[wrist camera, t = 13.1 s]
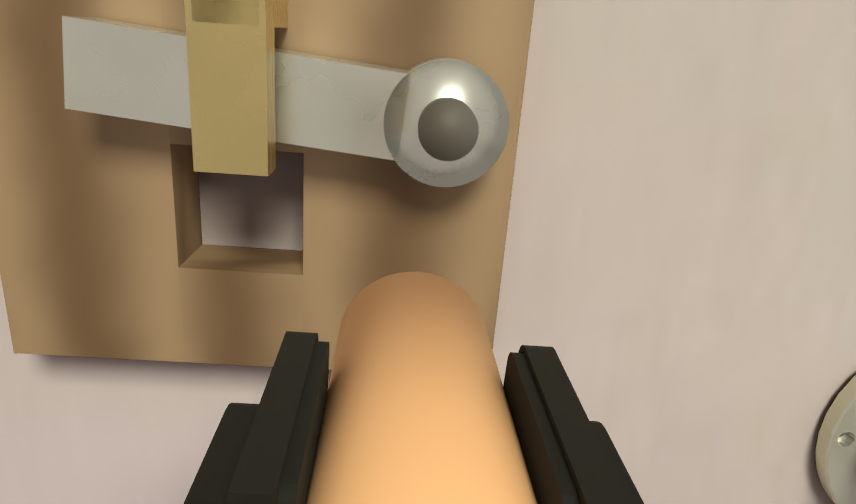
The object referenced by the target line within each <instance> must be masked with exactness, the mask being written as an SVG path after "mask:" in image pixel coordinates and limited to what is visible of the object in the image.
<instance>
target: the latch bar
mask: <svg viewBox="0 0 856 504" xmlns="http://www.w3.org/2000/svg"><path fill="white" fill-rule="evenodd" d="M62 36H63V67H64V99H65V109H71V110H78V111H84V112H90V113H97V114H103V115H109V116H116V117H122V118H128V119H135V120H141V121H147V122H154V123H160V124H166V125H173V126H179V127H185V128H191V114H190V96H189V78H188V60H187V42H186V33H185V32H179V31H173V30H167V29H161V28H155V27H150V26H144V25H138V24H132V23H126V22H120V21H114V20H108V19H102V18H93V17H75V16H62ZM442 97H452V98H456V99H459V100H461V101H462V102H464V103H465V104H467V106H468V107H469V108H470V109H471V110H472V112H473V113H474V115H475V117H476V119H477V122H478V127H479V134H478V139H477V142H476V144H475V146H474V147H473V149H472V150H471V151H470V152H469V153H468V154H467V155H466V156H464V157H463V158H461V159H458V160H455V161H441V160H438V159H435V158H433V157H432V156H430V155H429V154H428V153H427V152H426V151H425V150H424V149H423V147H422V145H421V143H420V141H419V137H418V121H419V117H420V115H421V113H422V111H423V109H424V108H425V107H426V106H427V105H428V104H429V103H430V102H432V101H434V100H436V99H438V98H442ZM275 128H276V142H280V143H286V144H293V145H299V146H305V147H312V148H318V149H324V150H331V151H337V152H343V153H350V154H356V155H362V156H369V157H375V158H381V159H388V160H394V161H395V162H396V163H397V164H398V165H399V167H400V168H401V169H402V170H403V171H405V172H406V173H407V174H408V175H409V176H411V177H412V178H414V179H416V180H418V181H420V182H422V183H425V184H427V185H431V186H436V187H455V186H461V185H464V184H467V183H470V182H472V181H474V180H476V179H478V178H479V177H481V176H482V175H484V174H485V173H486V172H487V171H488V170H489V169H490V168H491V167H492V166H493V165H494V164H495V163H496V161H497V160H498V159H499V157H500V155H501V154H502V152H503V150H504V147H505V145H506V142H507V138H508V133H509V112H508V107H507V103H506V101H505V98H504V96H503V94H502V92H501V90H500V88H499V87H498V86H497V84H496V83H495V82H494V80H493V79H492V78H491V77H490V76H489V75H487V74H486V73H485V72H483V71H482V70H481V69H479V68H477V67H475V66H474V65H472V64H470V63H468V62H465V61H463V60H459V59H455V58H448V57H441V58H433V59H429V60H426V61H423V62H421V63H419V64H417V65H415V66H413V67H412V68H410V69H409V70H404V69H399V68H393V67H387V66H381V65H375V64H369V63H363V62H357V61H351V60H345V59H339V58H333V57H327V56H321V55H316V54H310V53H304V52H298V51H292V50H286V49H280V48H275Z"/></svg>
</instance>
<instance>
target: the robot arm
mask: <svg viewBox="0 0 856 504" xmlns="http://www.w3.org/2000/svg"><path fill="white" fill-rule="evenodd" d="M329 348H330V345H329V342H324V341H319V339H318V333H310V332H293V331H286V333H285V335H284V338H283V341H282V343H281V346H280V349H279V352H278V354H277V357H276V360H275V363H274V365H273V368H272V371H271V374H270V376H269V379H268V382H267V385H266V387H265V390H264V393H263V396H262V398H261V401H260V404H245V403H230V404H229V405H228V407H227V408H226V410H225V412H224V415H223V417H222V419H221V421H220V423H219V426H218V428H217V430H216V432H215V435H214V437H213V439H212V441H211V444H210V446H209V448H208V450H207V453H206V455H205V457H204V459H203V462H202V464H201V466H200V468H199V470H198V473H197V475H196V477H195V479H194V482H193V484H192V486H191V488H190V491H189V493H188V495H187V497H186V500H185V502H184V504H307V498H308V493H309V488H310V483H311V477H312V472H313V467H314V462H315V456H316V451H317V446H318V441H319V435H320V430H321V425H322V420H323V414H324V409H325V404H326V398H327V393H328V373H329ZM503 388H504V392H505V395H506V398H507V402H508V405H509V409H510V412H511V416H512V419H513V422H514V426H515V429H516V433H517V436H518V440H519V443H520V446H521V450H522V453H523V457H524V460H525V463H526V467H527V470H528V474H529V477H530V481H531V484H532V487H533V491H534V494H535V498H536V501H537V504H644V503H643V501H642V499H641V497H640V495H639V493H638V491H637V489H636V487H635V485H634V483H633V481H632V479H631V478H630V476H629V474H628V472H627V470H626V468H625V466H624V464H623V462H622V460H621V458H620V456H619V454H618V452H617V450H616V448H615V446H614V445H613V443H612V441H611V439H610V437H609V435H608V433H607V431H606V429H605V428H604V426H603V425H602V423H600V422H597V421H589V419H588V417H587V415H586V413H585V411H584V409H583V407H582V405H581V403H580V401H579V399H578V397H577V395H576V393H575V390H574V388H573V386H572V384H571V382H570V380H569V378H568V376H567V374H566V372H565V370H564V368H563V366H562V364H561V362H560V360H559V357H558V355H557V353H556V351H555V349H554V348H553V347H543V346H527V345H522V346H521V347H520V349H519V353H511V352H510V354H509V356H508V360H507V366H506V373H505V379H504V386H503ZM816 467H817V472H818V475H819V478H820V481H821V484H822V487H823V488H824V490H825V491H826V493H827V494H828V496H829V497H830V499H831V500H832V501H833V502H834V503H835V504H856V375H855V376H854V377H853V378H852V379H851V380H850V381H849V383H848V384H847V385H846V386H845V387H844V388H843V389H842V391H841V392H840V393H839V394H838V395H837V397H836V399H835V400H834V402H833V404H832V405H831V407H830V408H829V410H828V412H827V413H826V416H825V418H824V421H823V423H822V426H821V428H820V431H819V434H818V440H817V446H816Z"/></svg>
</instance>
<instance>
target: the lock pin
mask: <svg viewBox="0 0 856 504" xmlns="http://www.w3.org/2000/svg"><path fill="white" fill-rule="evenodd" d="M307 504H537V501H536V498H535V494H534V491H533V487H532V484H531V481H530V477H529V474H528V470H527V467H526V463H525V460H524V457H523V453H522V450H521V446H520V443H519V440H518V436H517V433H516V429H515V426H514V422H513V419H512V416H511V412H510V409H509V405H508V402H507V398H506V395H505V392H504V388H503V385H502V381H501V378H500V375H499V371H498V368H497V364H496V361H495V357H494V354H493V351H492V347H491V344H490V340H489V337H488V333H487V330H486V327H485V323H484V320H483V317H482V314H481V312H480V310H479V308H478V306H477V304H476V303H475V301H474V300H473V299H472V298H471V296H470V295H469V294H468V293H467V292H466V291H465V290H464V289H462V288H461V287H460V286H458V285H457V284H455V283H454V282H452V281H450V280H448V279H446V278H444V277H441V276H438V275H435V274H431V273H425V272H402V273H396V274H392V275H389V276H386V277H383V278H381V279H378V280H377V281H375V282H373V283H371V284H370V285H368V286H367V287H365V288H364V289H363V290H362V291H361V292H359V293H358V294H357V295H356V296H355V298H354V299H353V300H352V301H351V302H350V304H349V306H348V307H347V309H346V311H345V313H344V315H343V318H342V321H341V324H340V329H339V334H338V339H337V344H336V349H335V355H334V360H333V365H332V370H331V375H330V381H329V386H328V393H327V398H326V404H325V409H324V414H323V420H322V425H321V430H320V435H319V441H318V446H317V451H316V456H315V462H314V467H313V472H312V477H311V483H310V488H309V493H308V498H307Z"/></svg>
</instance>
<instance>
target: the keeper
mask: <svg viewBox="0 0 856 504" xmlns="http://www.w3.org/2000/svg"><path fill="white" fill-rule="evenodd" d="M184 6H185V24H186V42H187V60H188V78H189V96H190V114H191V132H192V150H193V168H194V171H195V172H210V173H225V174H240V175H255V176H269V175H270V174H271V173H272V172H273V171H274V170H275V169H276V128H275V31H274V27H277V28H288V0H184Z"/></svg>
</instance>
